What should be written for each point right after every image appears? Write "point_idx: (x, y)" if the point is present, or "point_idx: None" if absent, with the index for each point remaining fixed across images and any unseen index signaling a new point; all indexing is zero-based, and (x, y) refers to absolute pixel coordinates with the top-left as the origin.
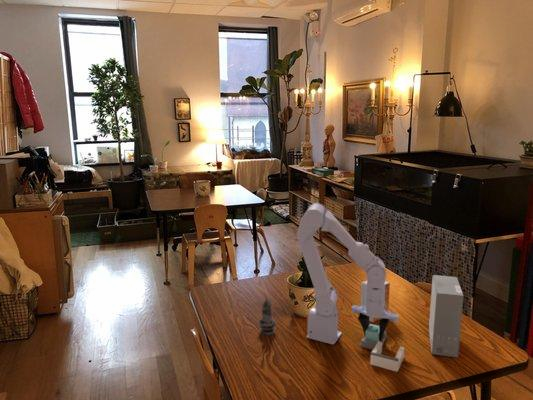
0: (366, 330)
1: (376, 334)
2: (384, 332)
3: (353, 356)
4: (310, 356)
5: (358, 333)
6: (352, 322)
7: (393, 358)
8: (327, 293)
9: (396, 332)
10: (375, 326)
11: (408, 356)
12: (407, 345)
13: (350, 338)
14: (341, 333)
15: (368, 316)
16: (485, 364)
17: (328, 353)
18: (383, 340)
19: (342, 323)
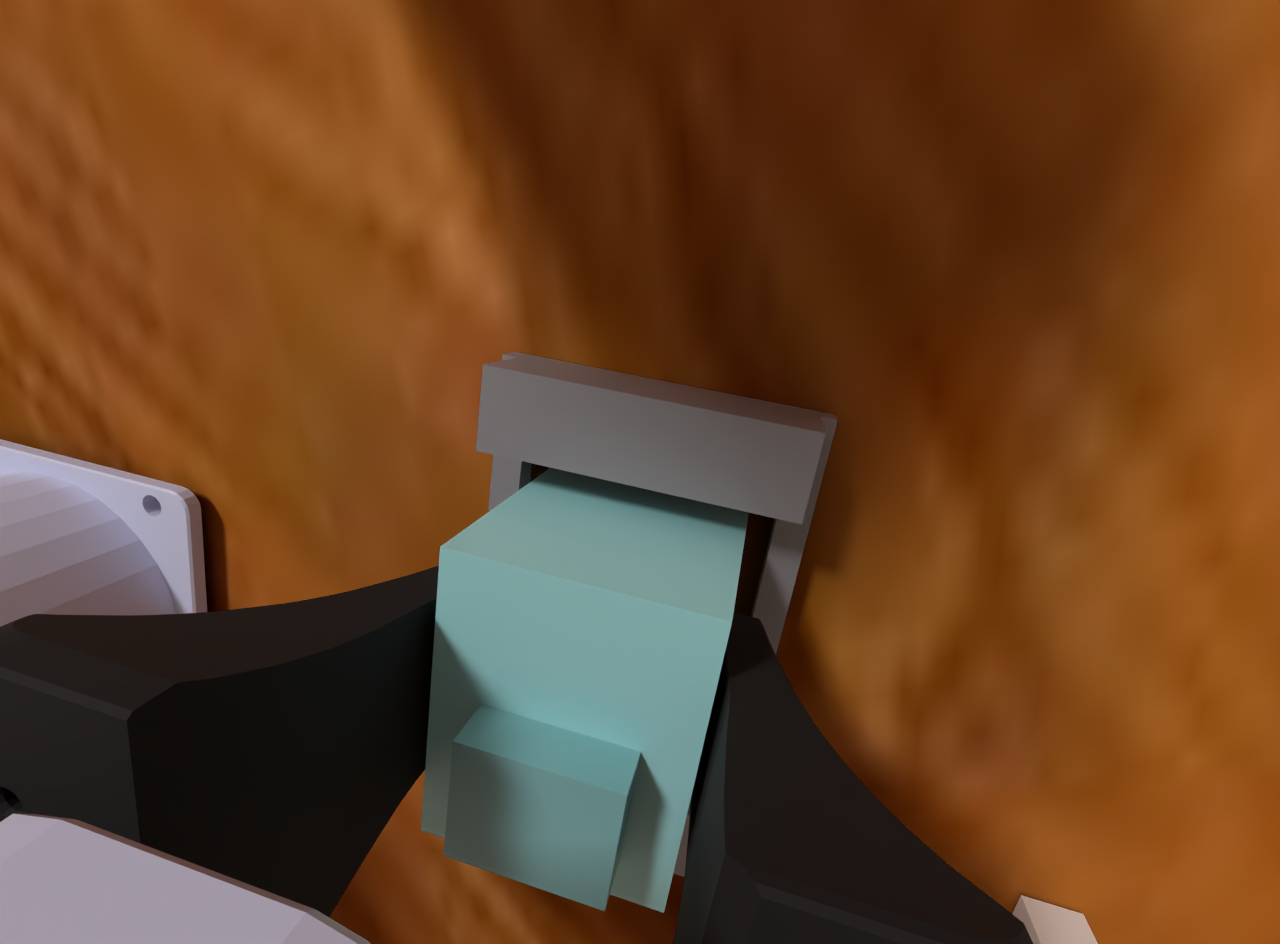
0: (433, 812)
1: (635, 882)
2: (789, 487)
3: (462, 921)
4: None
5: (389, 414)
6: (210, 59)
7: None
8: None
9: (1044, 151)
10: (566, 777)
11: (1165, 889)
12: (1213, 599)
13: (332, 575)
14: (192, 522)
15: (227, 823)
16: None
17: None
18: (777, 599)
19: (102, 166)
